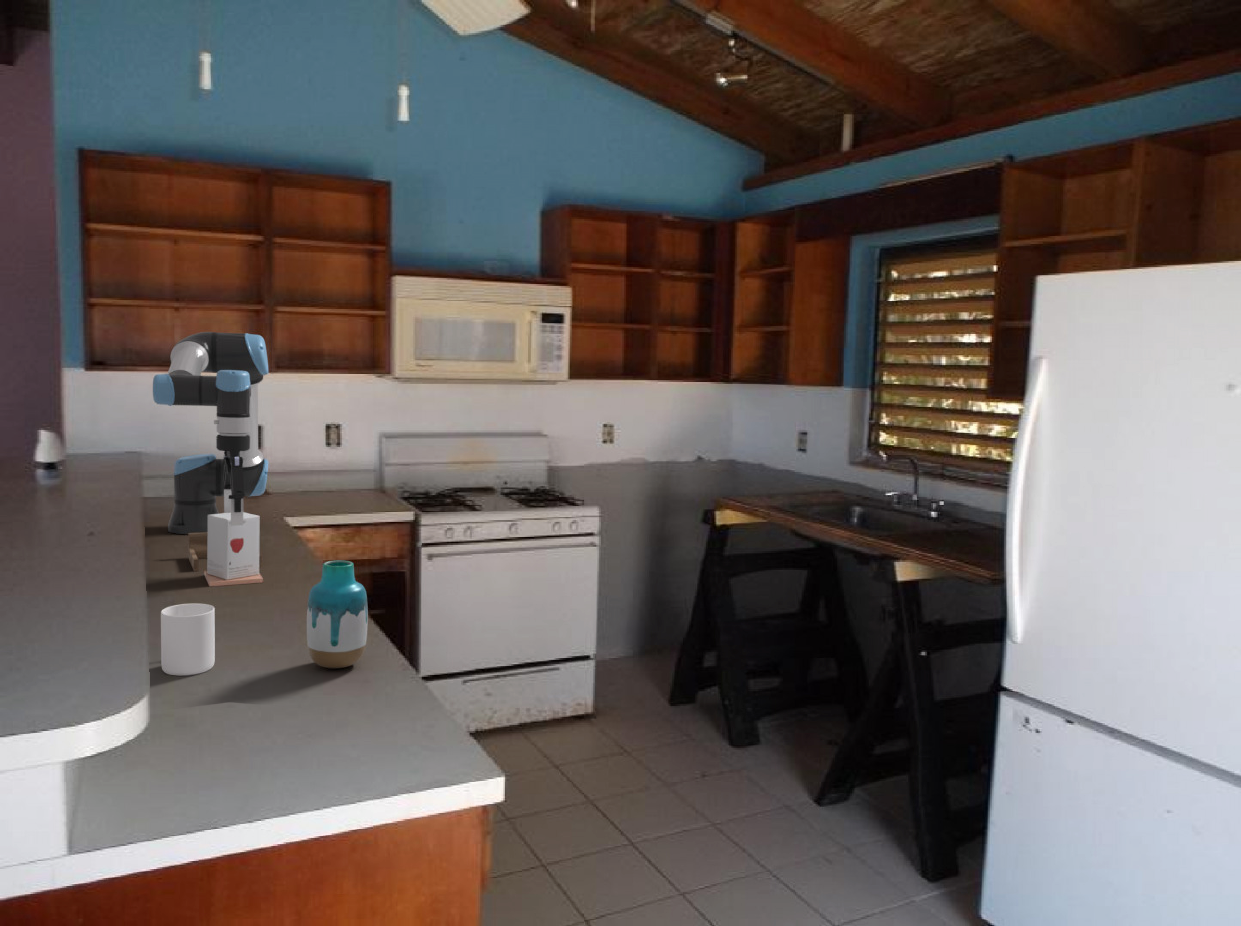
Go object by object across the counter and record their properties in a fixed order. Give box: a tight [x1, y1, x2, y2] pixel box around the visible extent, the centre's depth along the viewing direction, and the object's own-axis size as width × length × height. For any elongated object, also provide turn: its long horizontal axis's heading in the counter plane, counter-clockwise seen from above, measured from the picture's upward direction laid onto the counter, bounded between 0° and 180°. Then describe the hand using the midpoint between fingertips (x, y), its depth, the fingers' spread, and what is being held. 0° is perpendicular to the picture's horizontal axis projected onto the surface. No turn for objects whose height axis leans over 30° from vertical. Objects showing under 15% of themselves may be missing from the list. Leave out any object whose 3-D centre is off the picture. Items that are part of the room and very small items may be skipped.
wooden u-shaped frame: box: [187, 532, 262, 572], centre depth 242 cm, size 16×16×7 cm
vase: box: [306, 559, 369, 669], centre depth 166 cm, size 11×11×19 cm
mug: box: [160, 602, 216, 677], centre depth 163 cm, size 9×12×11 cm
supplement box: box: [206, 511, 261, 580], centre depth 225 cm, size 9×9×15 cm
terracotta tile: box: [204, 570, 264, 587], centre depth 225 cm, size 12×12×1 cm
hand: (233, 520), depth 224 cm, fingers open, 13 cm apart
